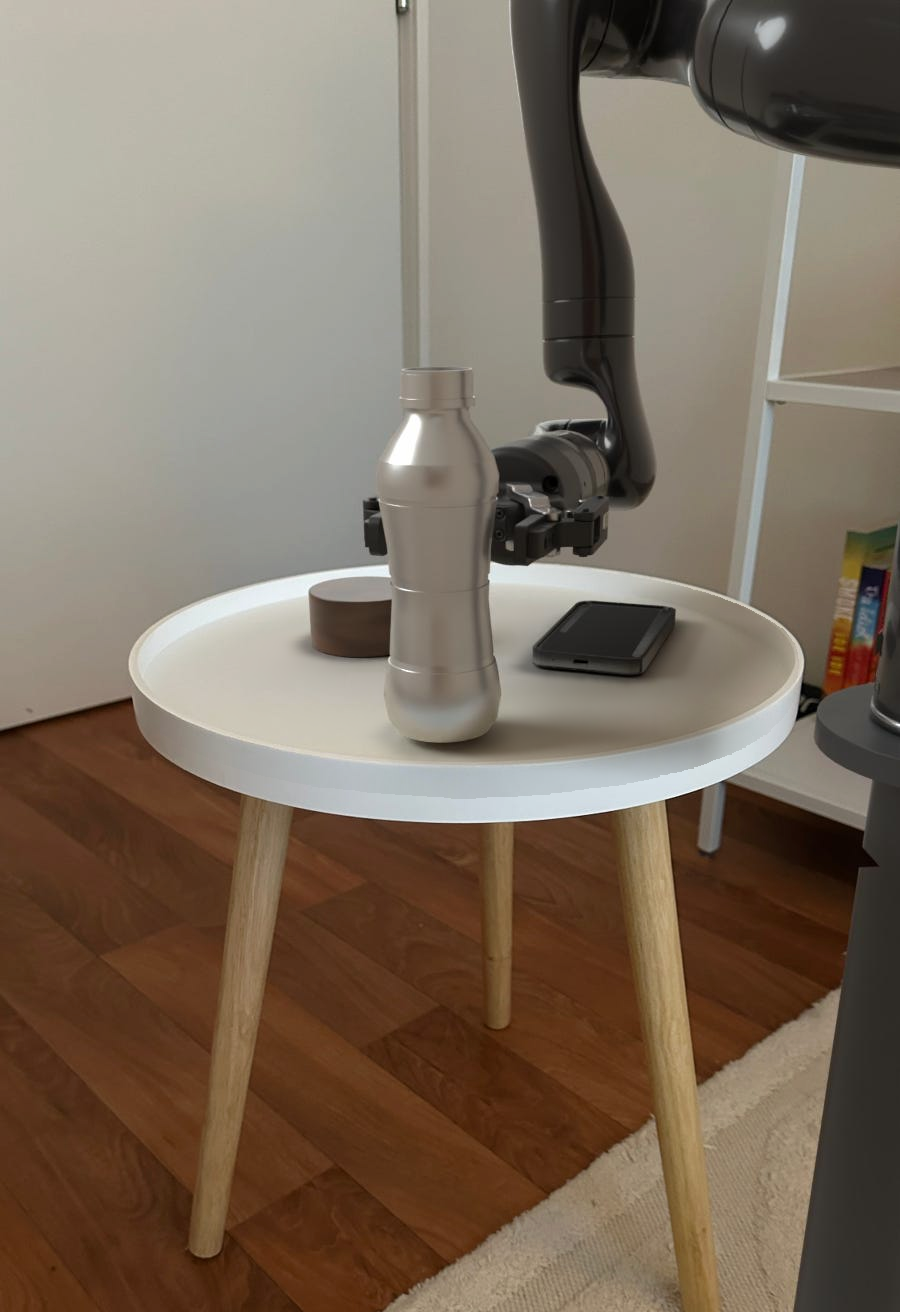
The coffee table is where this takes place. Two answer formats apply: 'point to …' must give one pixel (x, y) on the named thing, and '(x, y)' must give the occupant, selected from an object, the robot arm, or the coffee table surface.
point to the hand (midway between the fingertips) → (445, 542)
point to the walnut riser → (351, 616)
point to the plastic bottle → (439, 561)
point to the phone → (605, 637)
